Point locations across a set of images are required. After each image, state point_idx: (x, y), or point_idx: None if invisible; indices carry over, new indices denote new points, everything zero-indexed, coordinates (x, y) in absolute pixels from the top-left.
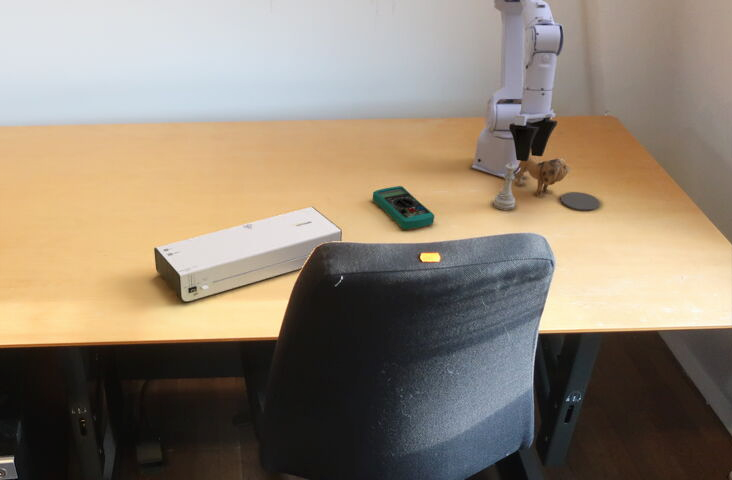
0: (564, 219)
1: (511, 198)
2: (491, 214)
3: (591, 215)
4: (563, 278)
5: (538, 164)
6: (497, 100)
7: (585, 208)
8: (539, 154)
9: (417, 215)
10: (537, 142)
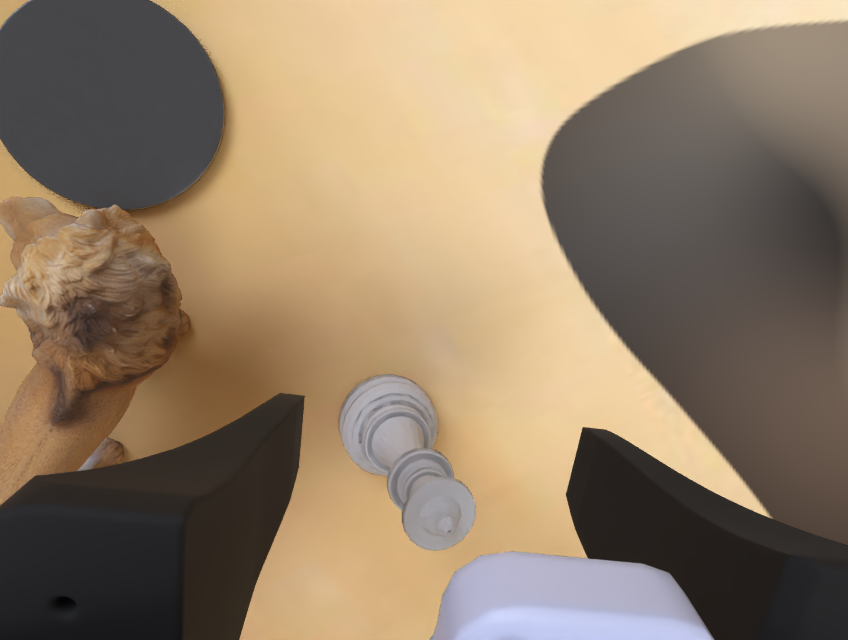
0: (360, 130)
1: (401, 403)
2: (488, 425)
3: (235, 9)
4: (807, 15)
5: (76, 420)
6: None
7: (193, 51)
8: (301, 416)
9: None
10: (267, 505)
